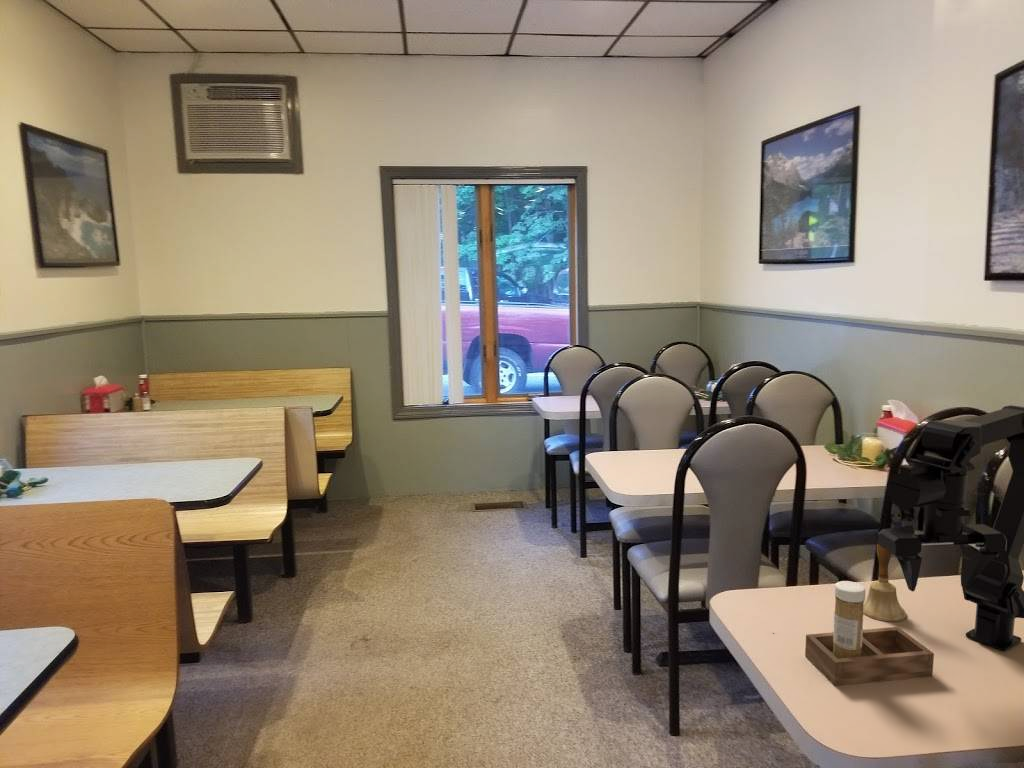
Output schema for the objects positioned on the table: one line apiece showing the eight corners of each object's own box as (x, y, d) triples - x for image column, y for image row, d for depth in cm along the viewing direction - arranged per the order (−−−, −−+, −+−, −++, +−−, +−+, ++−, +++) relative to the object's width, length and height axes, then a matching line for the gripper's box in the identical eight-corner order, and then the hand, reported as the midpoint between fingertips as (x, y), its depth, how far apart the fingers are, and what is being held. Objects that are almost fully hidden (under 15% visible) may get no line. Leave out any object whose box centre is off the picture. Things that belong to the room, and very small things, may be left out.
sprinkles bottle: (867, 663, 119) (871, 586, 117) (851, 672, 116) (855, 594, 114) (841, 651, 122) (845, 577, 120) (825, 660, 120) (829, 584, 118)
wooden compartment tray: (896, 648, 125) (898, 626, 125) (932, 676, 116) (934, 653, 116) (805, 656, 123) (806, 634, 123) (834, 685, 115) (835, 662, 114)
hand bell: (859, 617, 136) (863, 538, 134) (857, 599, 144) (861, 523, 142) (908, 625, 133) (914, 543, 131) (903, 605, 141) (908, 528, 138)
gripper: (964, 482, 125) (958, 566, 127) (861, 486, 124) (857, 571, 126) (1013, 502, 114) (1005, 594, 116) (900, 507, 113) (894, 600, 115)
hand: (937, 588), depth 119 cm, fingers open, 9 cm apart
